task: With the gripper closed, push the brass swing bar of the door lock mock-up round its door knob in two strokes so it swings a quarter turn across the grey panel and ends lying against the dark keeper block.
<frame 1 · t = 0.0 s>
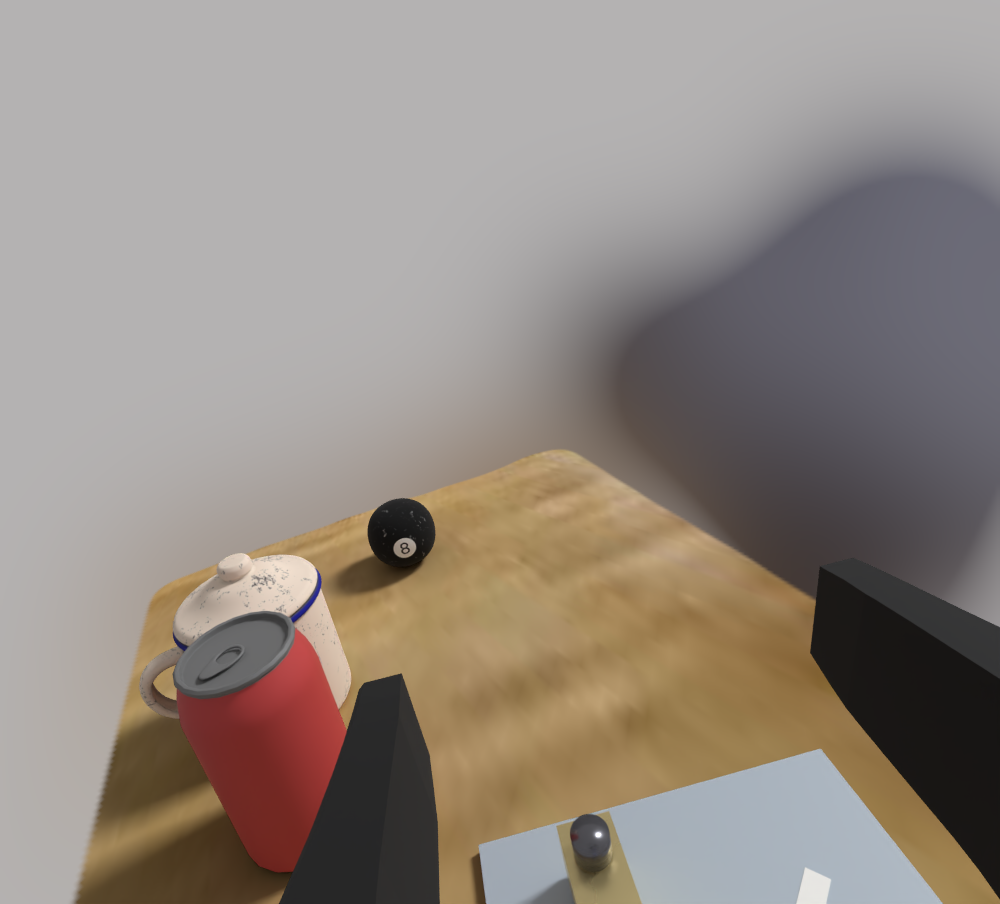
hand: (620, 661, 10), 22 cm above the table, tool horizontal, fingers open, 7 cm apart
beer can: (311, 819, 33), on the table
billiard ball: (410, 561, 56), on the table
teacup with lid: (270, 713, 41), on the table
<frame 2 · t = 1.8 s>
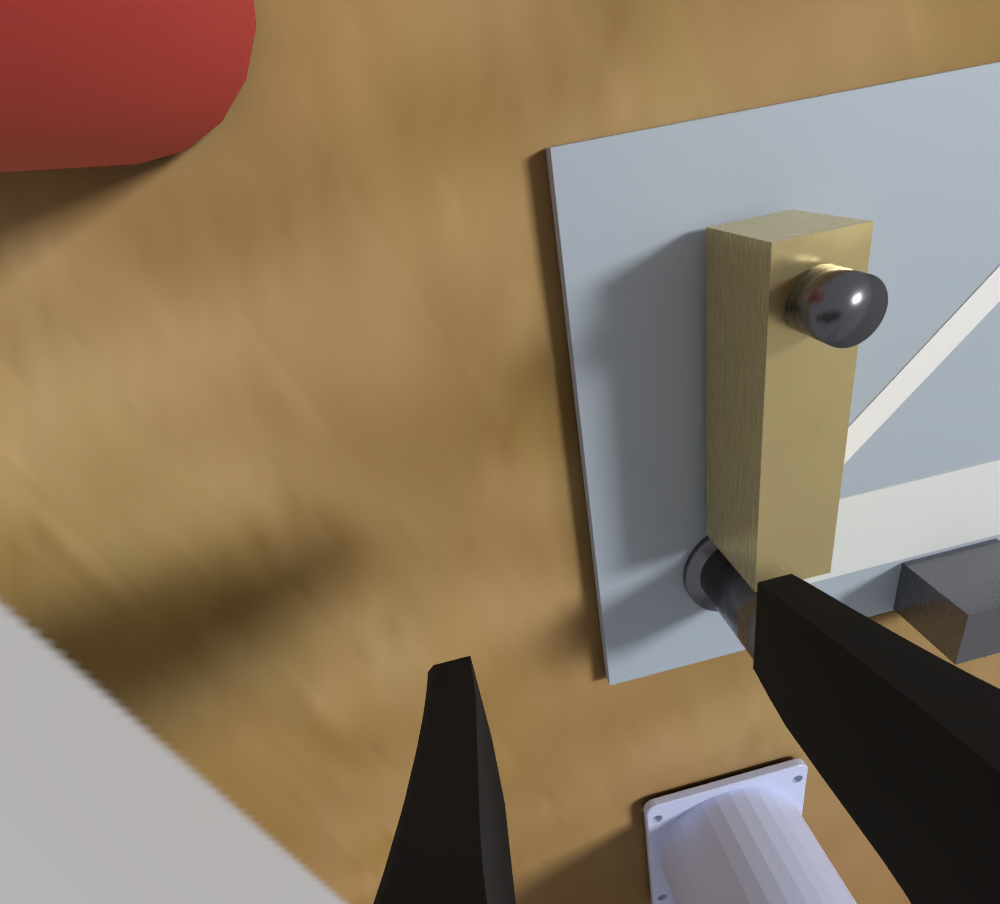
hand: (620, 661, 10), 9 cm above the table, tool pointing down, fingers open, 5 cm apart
keeper: (933, 566, 24), resting on door panel
door panel: (840, 411, 20), on the table
door knob: (725, 556, 22), resting on door panel
swing bar: (785, 419, 16), point 3 cm above the table, hinge at 0.0°
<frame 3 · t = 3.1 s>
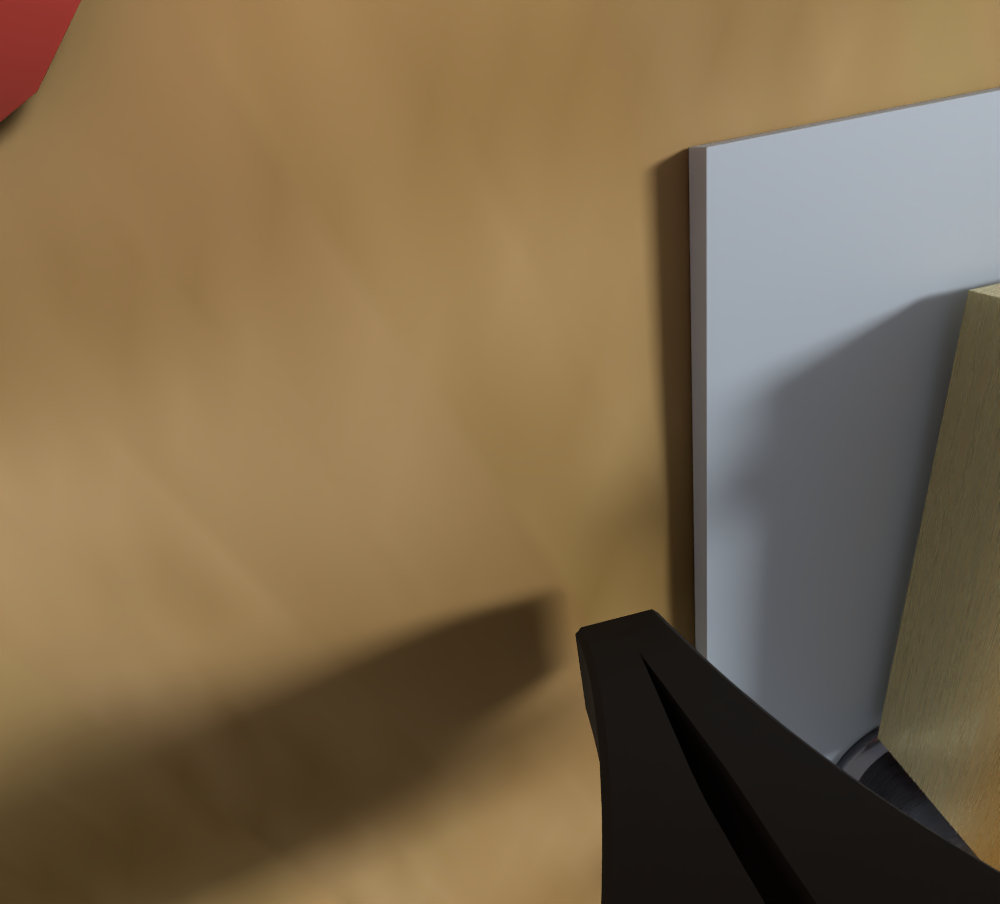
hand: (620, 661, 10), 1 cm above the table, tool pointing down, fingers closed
door knob: (884, 745, 15), resting on door panel
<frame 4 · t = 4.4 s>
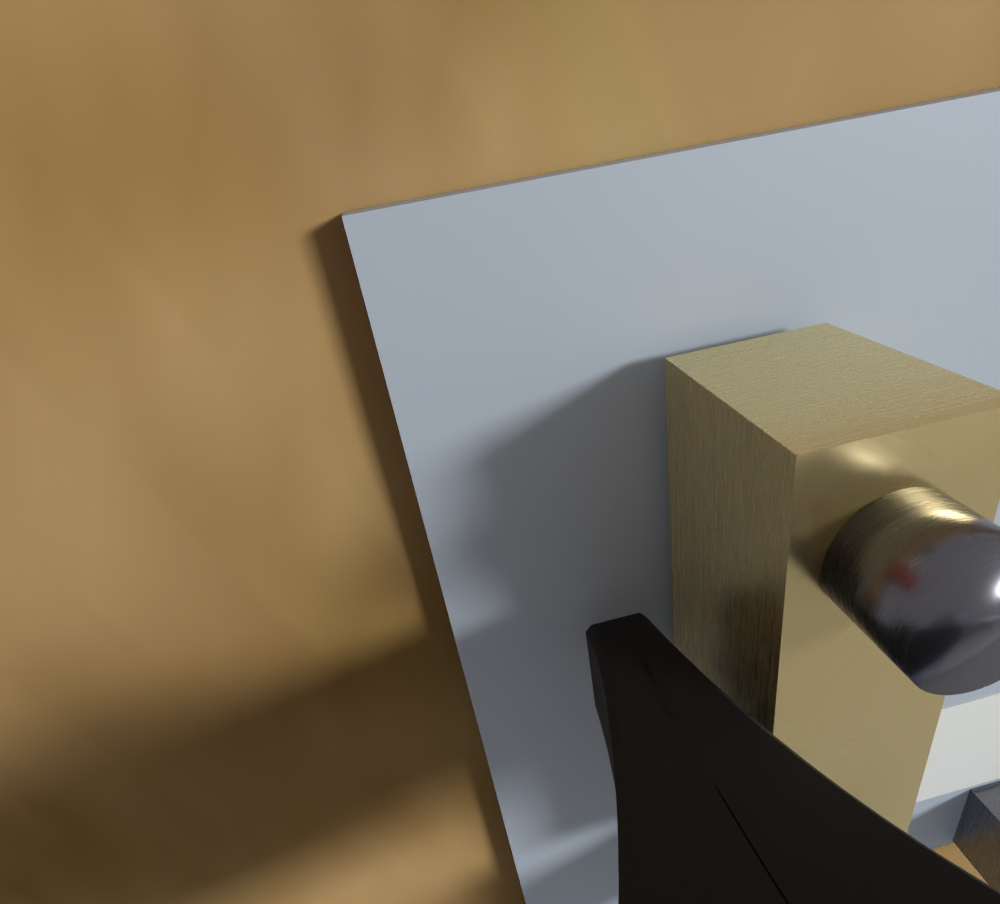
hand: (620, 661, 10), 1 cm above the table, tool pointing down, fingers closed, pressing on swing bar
door panel: (889, 604, 13), on the table
swing bar: (810, 703, 9), point 3 cm above the table, hinge at 0.0°, touching gripper
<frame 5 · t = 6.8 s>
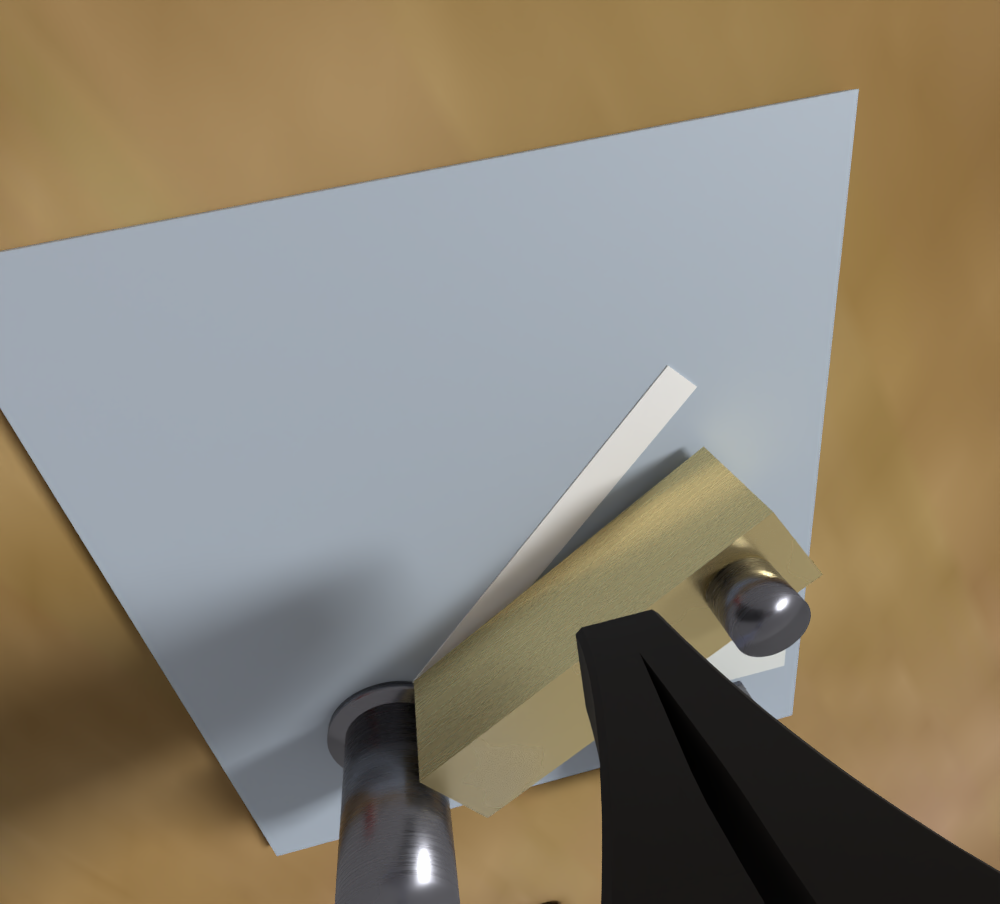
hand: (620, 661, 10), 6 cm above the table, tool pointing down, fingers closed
door panel: (494, 553, 16), on the table
door knob: (393, 713, 18), resting on door panel
swing bar: (602, 652, 14), point 3 cm above the table, hinge at -57.9°
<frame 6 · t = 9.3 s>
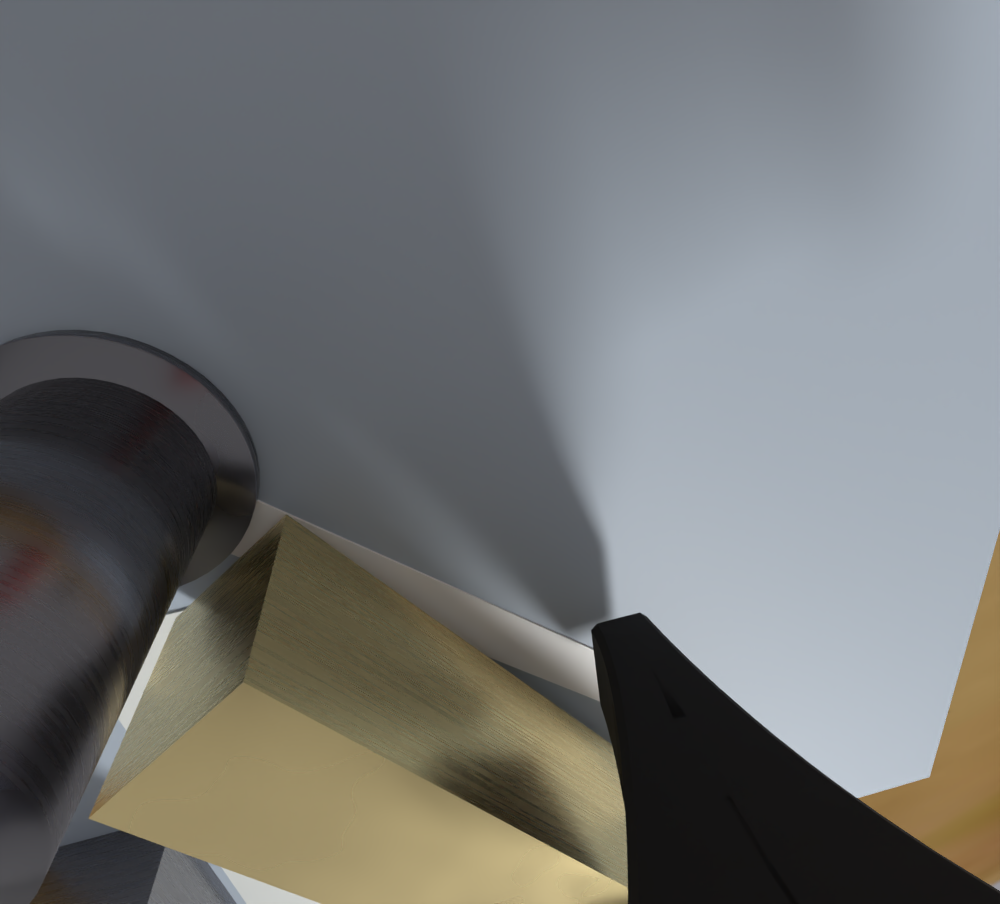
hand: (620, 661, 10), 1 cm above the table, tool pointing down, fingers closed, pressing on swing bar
keeper: (163, 864, 12), resting on door panel
door panel: (510, 584, 11), on the table
door knob: (123, 452, 8), resting on door panel
swing bar: (484, 833, 9), point 3 cm above the table, hinge at -58.0°, touching gripper
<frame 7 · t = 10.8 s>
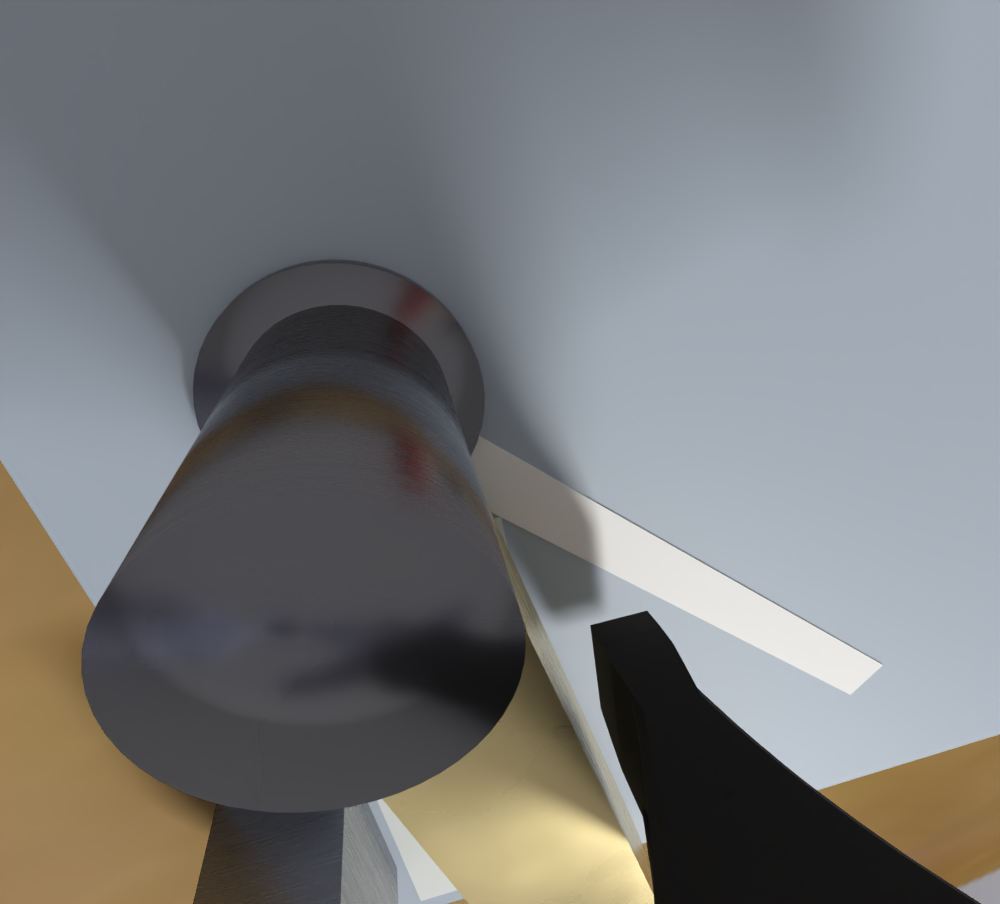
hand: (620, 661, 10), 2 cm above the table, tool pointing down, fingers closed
keeper: (317, 808, 13), resting on door panel
door panel: (675, 525, 11), on the table
door knob: (348, 387, 9), resting on door panel
swing bar: (545, 831, 10), point 3 cm above the table, hinge at -79.1°, touching gripper
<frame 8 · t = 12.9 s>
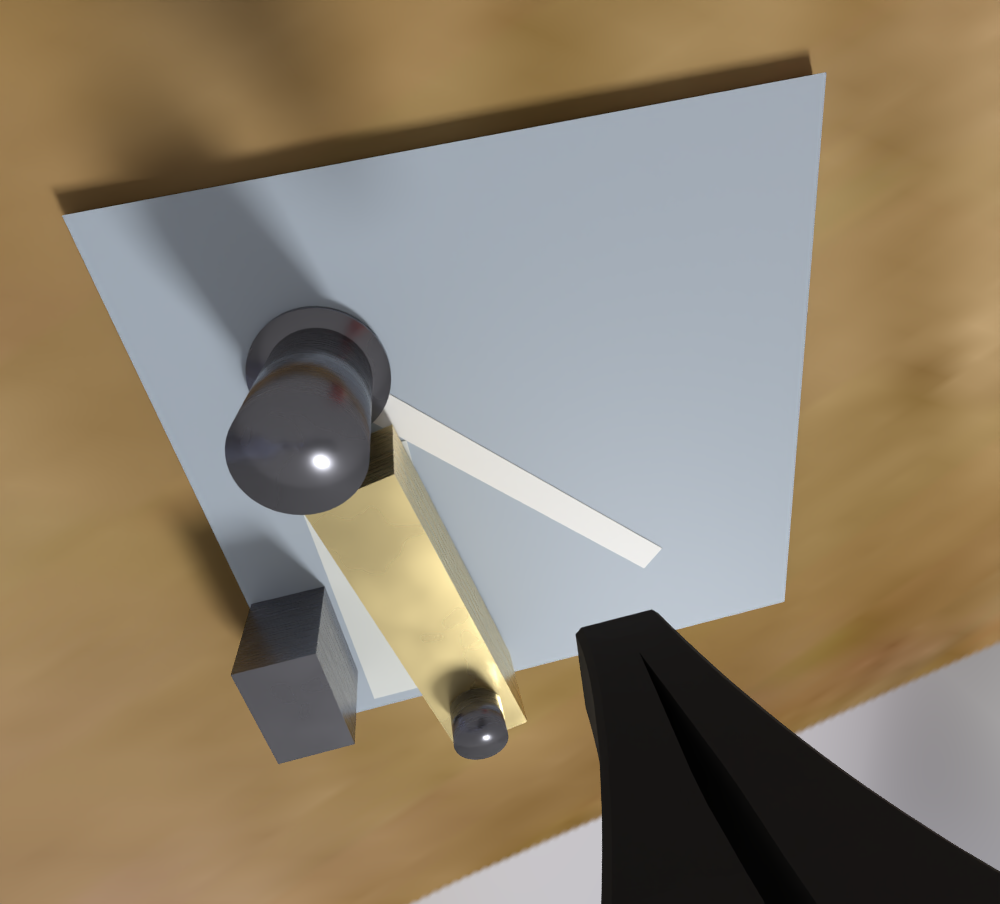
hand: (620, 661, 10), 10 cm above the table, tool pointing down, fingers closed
keeper: (308, 629, 21), resting on door panel
door panel: (515, 452, 19), on the table
door knob: (322, 369, 17), resting on door panel
swing bar: (428, 609, 18), point 3 cm above the table, hinge at -79.1°
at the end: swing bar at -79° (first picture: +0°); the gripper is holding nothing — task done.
